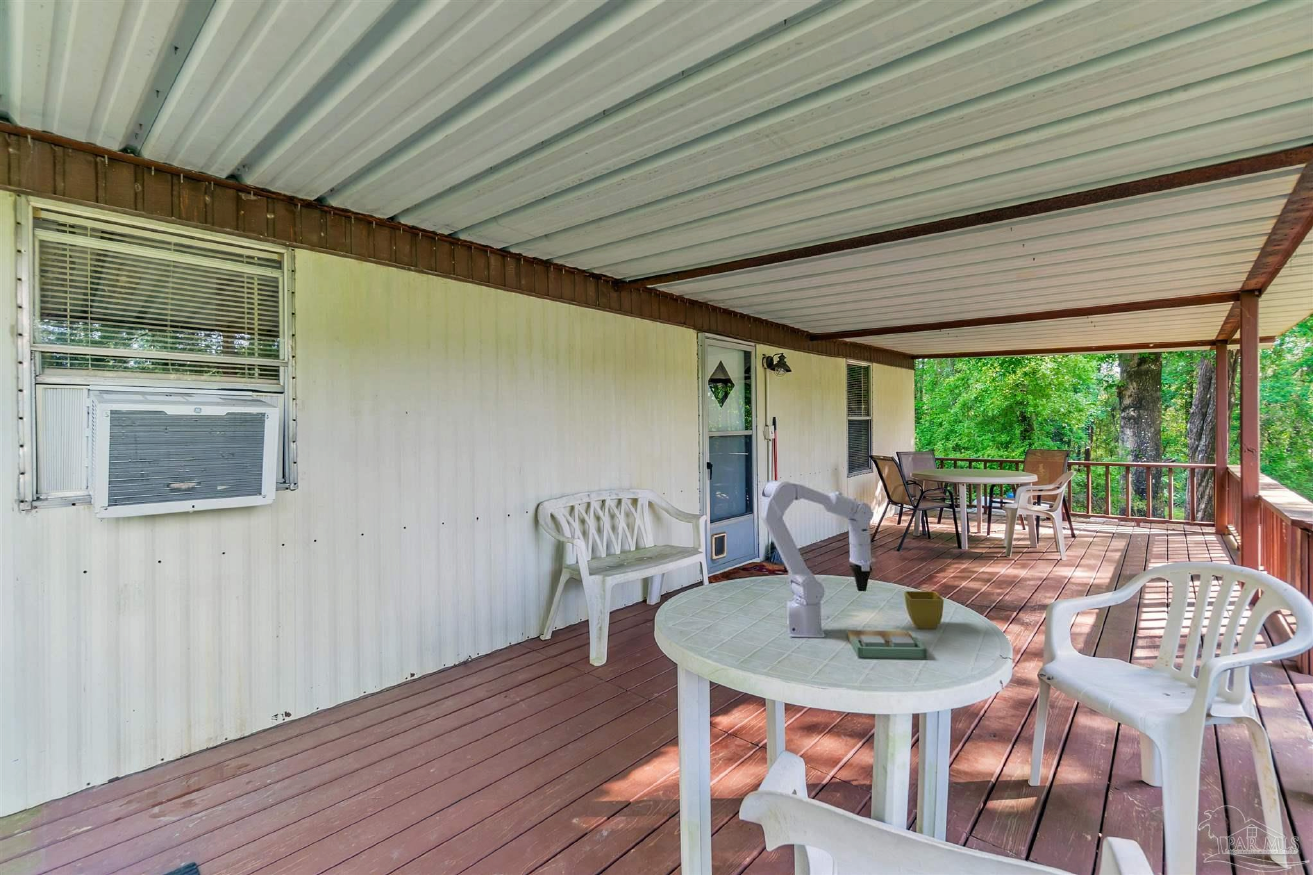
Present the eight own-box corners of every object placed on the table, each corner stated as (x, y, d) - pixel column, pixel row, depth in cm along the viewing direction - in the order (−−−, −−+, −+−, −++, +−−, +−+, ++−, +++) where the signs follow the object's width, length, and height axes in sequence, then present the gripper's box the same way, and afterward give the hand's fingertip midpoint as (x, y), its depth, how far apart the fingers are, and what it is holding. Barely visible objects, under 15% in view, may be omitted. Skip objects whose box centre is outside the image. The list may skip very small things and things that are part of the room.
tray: (858, 658, 142) (858, 648, 142) (852, 646, 150) (851, 636, 150) (927, 659, 140) (926, 649, 140) (916, 647, 148) (916, 637, 148)
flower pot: (945, 632, 159) (944, 599, 159) (911, 631, 160) (910, 598, 160) (936, 622, 167) (935, 591, 167) (904, 621, 169) (903, 590, 169)
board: (852, 646, 150) (851, 640, 150) (846, 635, 158) (846, 630, 158) (916, 647, 148) (916, 640, 148) (907, 636, 156) (907, 630, 156)
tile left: (865, 652, 145) (864, 642, 145) (860, 645, 150) (860, 635, 150) (885, 652, 144) (885, 642, 144) (881, 645, 149) (880, 635, 149)
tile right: (894, 652, 144) (893, 642, 144) (889, 645, 149) (888, 635, 149) (915, 652, 143) (914, 642, 143) (909, 645, 148) (909, 635, 148)
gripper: (880, 547, 158) (882, 597, 158) (868, 539, 172) (870, 584, 172) (853, 548, 159) (855, 597, 159) (844, 539, 173) (846, 584, 173)
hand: (861, 590), depth 165 cm, fingers closed
